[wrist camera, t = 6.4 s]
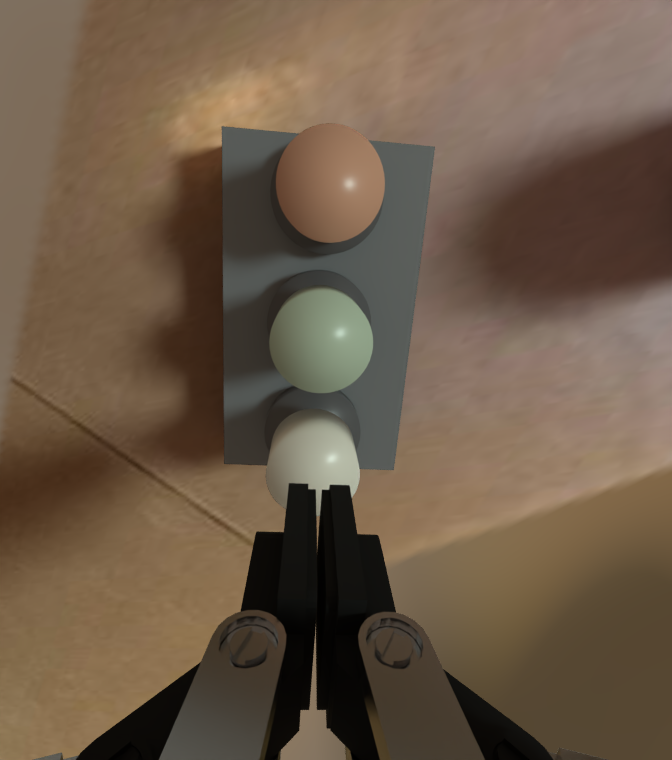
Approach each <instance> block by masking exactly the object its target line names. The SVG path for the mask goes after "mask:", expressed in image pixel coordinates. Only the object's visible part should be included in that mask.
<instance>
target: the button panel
mask: <svg viewBox="0 0 672 760" xmlns="http://www.w3.org/2000/svg"><path fill="white" fill-rule="evenodd" d="M297 135H298V134H296V133H286V132H275V131H265V130H255V129H244V128H234V127H223V126H222V212H223V360H224V464H243V465H267V463H268V458H269V453H270V448H271V443H272V439H273V435H274V433H275V430H276V429H277V427H278V426H279V424H280V423H281V422H282V421H283V420H284V419H285V418H287V417H288V416H289V415H291V414H293V413H295V412H298V411H301V410H304V409H322V410H326V411H329V412H331V413H333V414H335V415H337V416H338V417H340V418H341V419H342V420H343V421H344V422H345V423H346V424H347V426H348V427H349V429H350V431H351V433H352V437H353V441H354V445H355V450H356V455H357V459H358V464H359V469H377V470H394V464H395V456H396V448H397V440H398V432H399V424H400V417H401V409H402V401H403V393H404V385H405V377H406V370H407V362H408V354H409V346H410V338H411V330H412V323H413V315H414V307H415V299H416V291H417V283H418V276H419V268H420V260H421V252H422V244H423V237H424V229H425V221H426V213H427V205H428V197H429V190H430V182H431V174H432V166H433V158H434V150H435V147H432V146H422V145H411V144H401V143H390V142H380V141H370V140H368V141H369V142H370V143H371V144H372V146H373V147H374V149H375V150H376V152H377V154H378V156H379V158H380V160H381V163H382V166H383V171H384V177H385V191H384V197H383V201H382V204H381V207H380V209H379V212H378V213H377V215H376V217H375V219H374V220H373V221H372V223H371V224H370V225H369V226H368V227H367V228H366V229H365V230H364V231H362V232H361V233H360V234H358V235H357V236H355V237H353V238H351V239H348V240H345V241H341V242H334V243H323V242H318V241H314V240H312V239H309V238H307V237H306V236H304V235H302V234H301V233H300V232H299V231H298V230H297V229H296V228H295V227H294V226H293V225H292V224H291V223H290V222H289V220H288V219H287V218H286V216H285V214H284V213H283V211H282V209H281V206H280V204H279V200H278V197H277V191H276V174H277V168H278V164H279V161H280V159H281V156H282V154H283V152H284V150H285V149H286V147H287V146H288V144H289V143H290V142H291V141H292V140H293V139H294V138H295V137H296V136H297ZM313 285H327V286H331V287H335V288H337V289H340V290H342V291H343V292H345V293H346V294H348V295H349V296H350V297H351V298H352V299H353V300H354V301H355V302H356V304H357V305H358V306H359V308H360V309H361V310H362V312H363V313H364V314H365V316H366V318H367V320H368V321H369V324H370V327H371V330H372V334H373V350H372V355H371V358H370V361H369V363H368V365H367V367H366V369H365V370H364V372H363V373H362V374H361V376H360V377H359V378H358V379H357V380H356V381H354V382H353V383H352V384H350V385H349V386H347V387H345V388H343V389H341V390H338V391H335V392H330V393H312V392H308V391H304V390H302V389H299V388H297V387H295V386H293V385H292V384H291V383H289V382H288V381H287V380H286V379H285V378H283V376H282V375H281V374H280V373H279V371H278V370H277V368H276V367H275V365H274V362H273V360H272V357H271V353H270V346H269V339H270V332H271V328H272V325H273V323H274V320H275V318H276V316H277V314H278V312H279V310H280V308H281V306H282V305H283V303H284V302H285V301H286V300H287V299H288V298H289V297H290V296H291V295H292V294H293V293H295V292H297V291H298V290H300V289H302V288H305V287H308V286H313Z"/></svg>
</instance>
